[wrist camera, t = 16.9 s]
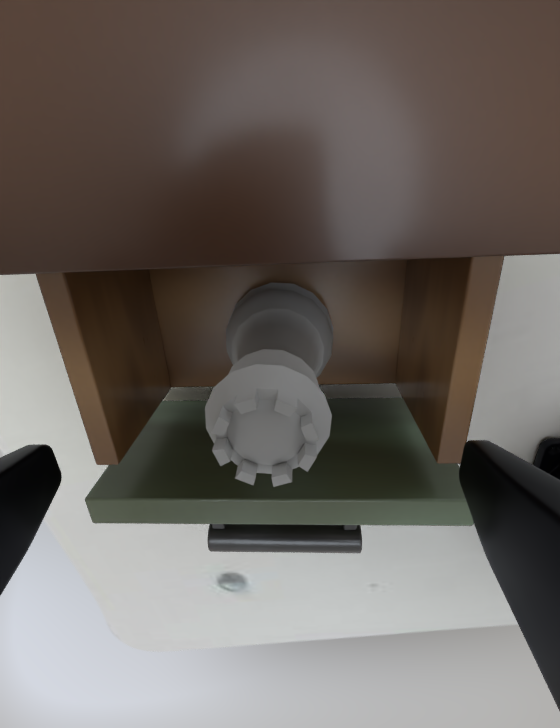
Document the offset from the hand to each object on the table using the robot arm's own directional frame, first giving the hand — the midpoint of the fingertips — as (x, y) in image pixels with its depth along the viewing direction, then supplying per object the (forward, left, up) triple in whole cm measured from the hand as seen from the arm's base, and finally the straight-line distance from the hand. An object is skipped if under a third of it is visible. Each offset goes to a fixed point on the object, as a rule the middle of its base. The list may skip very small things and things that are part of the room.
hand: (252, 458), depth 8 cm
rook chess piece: (0, 0, -9) cm, 9 cm away
